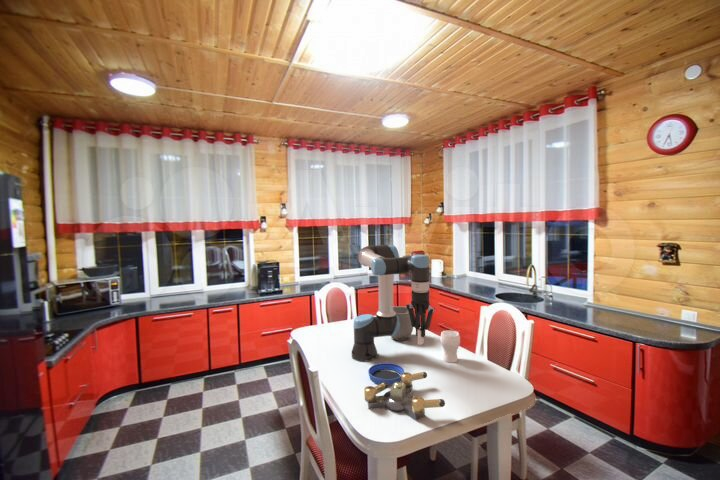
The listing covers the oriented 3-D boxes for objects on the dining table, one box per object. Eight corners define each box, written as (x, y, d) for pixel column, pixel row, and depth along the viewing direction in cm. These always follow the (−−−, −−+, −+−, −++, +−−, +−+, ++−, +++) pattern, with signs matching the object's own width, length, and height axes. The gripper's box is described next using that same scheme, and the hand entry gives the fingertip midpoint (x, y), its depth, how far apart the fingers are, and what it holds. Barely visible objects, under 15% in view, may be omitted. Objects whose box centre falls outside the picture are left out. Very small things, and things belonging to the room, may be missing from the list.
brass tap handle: (404, 387, 142) (404, 378, 142) (399, 382, 147) (399, 373, 147) (429, 382, 147) (429, 372, 146) (424, 377, 151) (423, 368, 151)
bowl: (394, 390, 146) (394, 382, 146) (361, 380, 156) (361, 373, 155) (410, 374, 161) (410, 367, 161) (379, 366, 171) (379, 360, 171)
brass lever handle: (413, 414, 122) (413, 403, 122) (411, 407, 127) (410, 396, 127) (446, 412, 123) (446, 401, 123) (443, 405, 128) (442, 394, 127)
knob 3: (370, 403, 130) (369, 393, 130) (362, 399, 134) (362, 389, 134) (391, 391, 139) (391, 382, 139) (383, 387, 143) (383, 378, 142)
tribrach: (363, 407, 132) (362, 387, 132) (382, 383, 152) (381, 365, 151) (422, 422, 122) (421, 400, 121) (434, 394, 141) (434, 375, 141)
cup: (461, 364, 170) (461, 337, 169) (441, 363, 172) (440, 336, 171) (459, 356, 180) (459, 330, 179) (440, 355, 182) (439, 329, 181)
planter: (419, 335, 215) (418, 308, 214) (407, 345, 198) (406, 315, 197) (393, 331, 225) (392, 304, 224) (379, 340, 209) (379, 311, 208)
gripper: (402, 290, 137) (403, 342, 139) (430, 294, 129) (430, 350, 131) (411, 287, 143) (411, 337, 145) (438, 290, 135) (438, 344, 137)
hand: (420, 343), depth 138 cm, fingers closed
